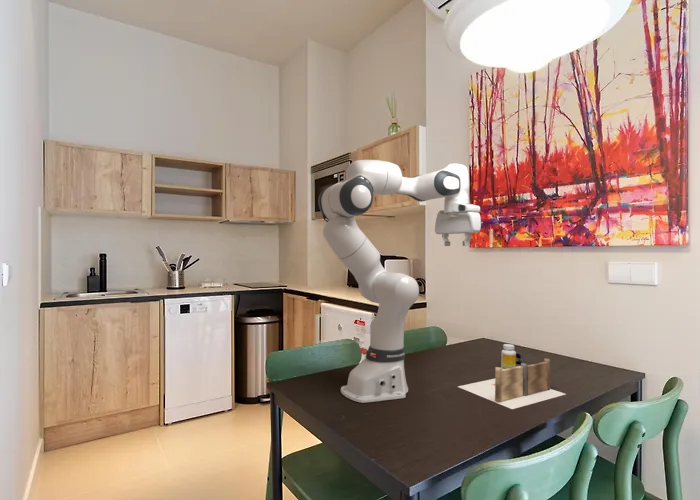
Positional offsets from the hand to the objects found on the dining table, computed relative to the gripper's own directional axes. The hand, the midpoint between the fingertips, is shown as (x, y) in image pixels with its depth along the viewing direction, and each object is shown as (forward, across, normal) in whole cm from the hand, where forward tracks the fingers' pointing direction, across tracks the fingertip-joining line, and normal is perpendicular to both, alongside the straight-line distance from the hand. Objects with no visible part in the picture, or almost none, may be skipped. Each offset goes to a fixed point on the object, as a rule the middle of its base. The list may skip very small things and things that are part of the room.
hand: (456, 246), depth 149 cm
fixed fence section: (+48, +26, +10) cm, 55 cm away
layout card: (+48, +21, +4) cm, 53 cm away
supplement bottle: (+48, +4, +24) cm, 54 cm away
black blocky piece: (+49, -2, +36) cm, 61 cm away
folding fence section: (+47, +26, -3) cm, 54 cm away
